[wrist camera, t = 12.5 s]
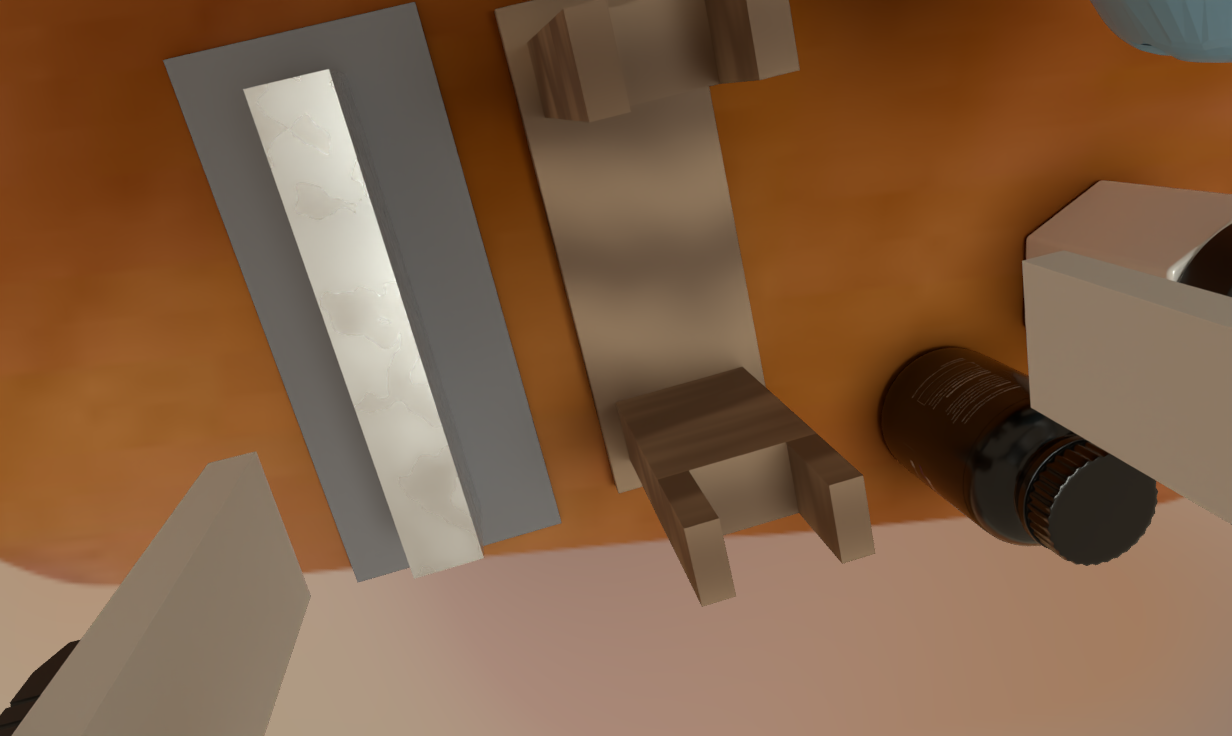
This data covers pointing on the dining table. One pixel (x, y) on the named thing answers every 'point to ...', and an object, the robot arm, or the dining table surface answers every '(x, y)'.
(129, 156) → the dining table surface
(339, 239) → the rail
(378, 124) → the mat
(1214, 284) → the jar
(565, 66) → the stand
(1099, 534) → the supplement bottle
